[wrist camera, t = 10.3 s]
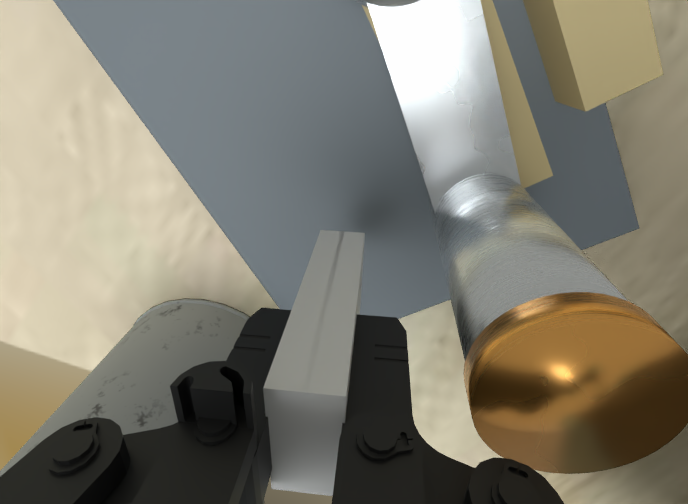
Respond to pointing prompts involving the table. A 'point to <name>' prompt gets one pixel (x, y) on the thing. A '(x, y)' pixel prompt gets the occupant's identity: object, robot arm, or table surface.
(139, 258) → the table surface
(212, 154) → the plate
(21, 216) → the table surface
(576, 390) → the bar
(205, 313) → the grey cylinder
